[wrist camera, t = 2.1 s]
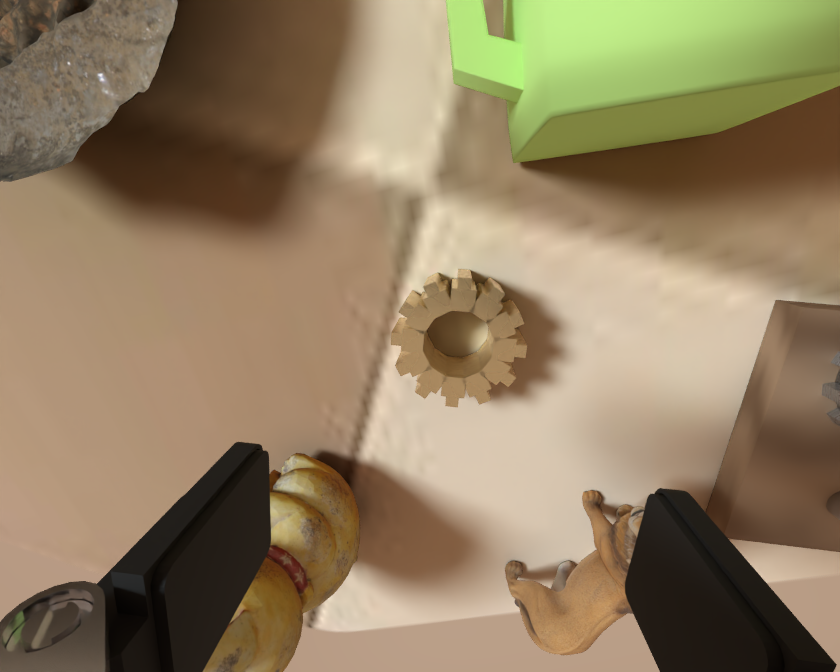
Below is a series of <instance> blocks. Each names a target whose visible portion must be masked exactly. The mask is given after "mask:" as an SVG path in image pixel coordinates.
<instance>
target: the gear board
mask: <svg viewBox="0 0 840 672" xmlns="http://www.w3.org/2000/svg"><path fill="white" fill-rule="evenodd" d="M838 352H840V306H839V305H827V304H816V303H805V302H793V301H782V300H776V301H775V304H774V307H773V311H772V314H771V317H770V320H769V323H768V326H767V329H766V332H765V335H764V338H763V341H762V344H761V347H760V350H759V353H758V356H757V359H756V362H755V365H754V368H753V371H752V374H751V377H750V380H749V383H748V386H747V389H746V392H745V395H744V398H743V401H742V405H741V408H740V411H739V414H738V417H737V420H736V423H735V426H734V429H733V432H732V435H731V438H730V441H729V444H728V447H727V450H726V453H725V456H724V459H723V462H722V465H721V468H720V471H719V474H718V477H717V480H716V483H715V486H714V489H713V492H712V495H711V499H710V502H709V505H708V508H707V511H706V514H707V515H708V516H709V517H710V518H711V520H712V521H713V522H714V523H715V524H716V525H717V527H718V528H719V529H720V530H721V531H722V532H723V533H724V535H725V536H726V537H727V538H729V539H737V540H746V541H754V542H762V543H770V544H778V545H787V546H795V547H803V548H811V549H820V550H828V551H836V552H840V426H838V425H836V424H835V423H833V422H832V421H831V419H830V418H829V417H828V415H827V414H826V413H828V412H830V411H832V410H834V409H835V408H838V407H837V405H836V402H835V401H833V400H831V399H829V398H827V397H825V396H823V395H822V384H823V383H831V382H835V380H836V377H837V374H838V372H839V370H840V366H838V365H835V364H833V363H831V361H832V360H833V359H834V357H835V356H836V354H837V353H838Z"/></svg>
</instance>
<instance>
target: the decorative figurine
mask: <svg viewBox="0 0 840 672" xmlns="http://www.w3.org/2000/svg"><path fill="white" fill-rule="evenodd" d="M269 480H270V515H271V544H270V548H269V551H268V554H267V556H266V558H265V560H264V562H263V563H262V565H261V567H260V569H259V571H258V572H257V574H256V576H255V578H254V580H253V581H252V583H251V585H250V587H249V589H248V591H247V592H246V594H245V596H244V598H243V600H242V601H241V603H240V605H239V607H238V609H237V611H236V612H235V614H234V616H233V618H232V620H231V621H230V623H229V625H228V627H227V629H226V630H225V632H224V634H223V636H222V638H221V640H220V641H219V643H218V645H217V647H216V649H215V650H214V652H213V654H212V656H211V658H210V660H209V661H208V663H207V665H206V667H205V669H204V670H203V672H283V671H284V669H285V668H286V667H287V666H288V664H289V662H290V660H291V659H292V657H293V655H294V653H295V650H296V648H297V645H298V642H299V639H300V636H301V630H302V624H303V613H305V612H307V611H309V610H311V609H313V608H315V607H317V606H319V605H321V604H322V603H323V602H324V601H325V600H327V599H328V598H329V597H330V596H331V595H333V594H334V593H335V592H336V591H337V589H338V588H339V587H340V586H341V585H342V583H343V582H344V580H345V579H346V577H347V576H348V574H349V572H350V569H351V567H352V565H353V563H354V562H355V561H357V552H358V548H359V540H360V519H359V512H358V507H357V504H356V501H355V497H354V495H353V492H352V490H351V488H350V487H349V485H348V483H347V482H346V481H345V480H344V479H343V477H342V476H341V475H340V474H339V473H338V472H336V471H335V470H334V469H333V468H331V467H330V466H329V465H327V464H325V463H323V462H321V461H319V460H316V459H314V458H312V457H310V456H307V455H305V454H301V453H296V454H294V455H292V456H291V457H290V458H289V459H287V460H286V461H285V462H284V466H282V470H281V473H279V472H278V471H276V470H273V471H272V472H271V473H270V474H269Z"/></svg>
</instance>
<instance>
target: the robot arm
mask: <svg viewBox="0 0 840 672" xmlns="http://www.w3.org/2000/svg"><path fill="white" fill-rule="evenodd" d="M270 544H271V515H270V480H269V454H268V452H267V451H263V449H262V446H261V445H260V444H253V443H244V442H236V443H235V444H234V445H233V446H232V447H231V448H230V449H229V450H228V451H227V452H226V453H225V454H224V455H223V456H222V457H221V458H220V459H219V460H218V461H217V462H216V463H215V464H214V465H213V466H212V467H211V468H210V469H209V470H208V472H207V473H206V474H205V475H204V476H203V477H202V478H201V479H200V480H199V481H198V482H197V483H196V484H195V485H194V486H193V487H192V488H191V489H190V490H189V491H188V492H187V493H186V494H185V495H184V496H183V497H181V498H180V499H179V500H178V501H177V502H176V503H175V504H174V505H173V506H172V507H171V508H170V509H169V510H168V511H167V512H166V513H165V515H164V516H163V517H162V518H161V519H160V520H159V521H158V522H157V523H156V524H155V525H154V526H153V527H152V528H151V529H150V530H149V531H148V532H147V533H146V534H145V535H144V536H143V537H142V538H141V539H140V540H139V541H138V542H137V543H136V544H135V545H134V546H133V547H132V548H131V549H130V550H129V551H128V553H127V554H126V555H125V556H124V557H123V558H122V559H121V560H120V561H119V562H118V563H117V564H116V565H115V566H114V567H113V568H112V569H111V570H110V571H109V572H108V573H107V574H106V575H105V576H104V577H103V578H102V579H101V580H100V581H99V582H98V583H97V584H95V583H90V582H86V581H79V582H69V583H65V584H61V585H57V586H54V587H52V588H49V589H47V590H44V591H42V592H40V593H37V594H36V595H34V596H32V597H31V598H29V599H27V600H26V601H24V602H22V603H21V604H19V605H18V606H17V607H16V608H14V609H13V610H12V611H11V612H10V613H8V614H7V615H6V616H5V617H4V618H3V619H2V620H1V622H0V672H203V670H204V669H205V667H206V665H207V663H208V661H209V660H210V658H211V656H212V654H213V652H214V650H215V649H216V647H217V645H218V643H219V641H220V640H221V638H222V636H223V634H224V632H225V630H226V629H227V627H228V625H229V623H230V621H231V620H232V618H233V616H234V614H235V612H236V611H237V609H238V607H239V605H240V603H241V601H242V600H243V598H244V596H245V594H246V592H247V591H248V589H249V587H250V585H251V583H252V581H253V580H254V578H255V576H256V574H257V572H258V571H259V569H260V567H261V565H262V563H263V562H264V560H265V558H266V556H267V554H268V551H269V548H270ZM625 594H626V598H627V601H628V603H629V605H630V607H631V609H632V612H633V614H634V616H635V618H636V620H637V622H638V625H639V627H640V629H641V631H642V633H643V635H644V638H645V640H646V642H647V644H648V646H649V649H650V651H651V653H652V655H653V657H654V660H655V662H656V664H657V666H658V668H659V670H660V672H833V671H834V669H835V667H836V663H835V662H834V661H833V660H832V659H831V658H830V656H829V655H828V654H827V653H826V652H825V651H824V649H823V648H822V647H821V646H820V645H819V644H818V643H817V641H816V640H815V639H814V638H813V637H812V636H811V634H810V633H809V632H808V631H807V630H806V629H805V627H804V626H803V625H802V624H801V623H800V622H799V621H798V620H797V618H796V617H795V616H794V615H793V614H792V612H791V611H790V610H789V609H788V608H787V607H786V605H785V604H784V603H783V602H782V601H781V600H780V598H779V597H778V596H777V595H776V594H775V593H774V591H773V590H772V589H771V588H770V587H769V586H768V585H767V583H766V582H765V581H764V580H763V579H762V578H761V576H760V575H759V574H758V573H757V572H756V571H755V569H754V568H753V567H752V566H751V565H750V564H749V562H748V561H747V560H746V559H745V558H744V557H743V556H742V554H741V553H740V552H739V551H738V550H737V549H736V547H735V546H734V545H733V544H732V543H731V542H730V540H729V539H728V538H727V537H726V536H725V535H724V533H723V532H722V531H721V530H720V529H719V528H718V527H717V525H716V524H715V523H714V522H713V521H712V520H711V518H710V517H709V516H708V515H707V514H706V513H705V511H704V510H703V509H702V508H701V507H700V506H699V505H698V503H697V502H696V501H695V500H694V499H693V498H692V496H691V495H690V494H689V493H687V492H685V491H680V490H671V489H662V488H660V489H658V490H657V491H656V492H655V494H650V495H649V496H648V499H647V502H646V506H645V510H644V513H643V517H642V521H641V524H640V528H639V532H638V535H637V539H636V543H635V547H634V550H633V554H632V558H631V561H630V565H629V569H628V573H627V576H626V580H625Z"/></svg>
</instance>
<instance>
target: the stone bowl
mask: <svg viewBox="0 0 840 672" xmlns="http://www.w3.org/2000/svg"><path fill="white" fill-rule="evenodd" d="M177 5H178V2H177V0H0V181H9V182H11V181H14V180H18V179H22V178H25V177H29V176H32V175H35V174H38V173H41V172H45V171H48V170H52V169H55V168H58V167H60V166H62V165H65V164H67V163H69V162H71V161H73V159H74V157H75V155H76V153H77V151H78V149H79V148H80V146H81V145H82V144H83V143H84V142H85V141H86V140H87V139H88V138H89V136H90V135H91V134H92V133H93V132H95V131H97V130H98V129H100V128H102V127H104V126H105V125H107V124H108V123H109V122H110V121H111V119H112V117H113V116H114V114H115V113H116V111H117V109H118V108H119V106H120V105H122V104H125V103H127V102H128V101H130V100H132V99H133V98H134V97H135V96H136V95H137V94H138V93H140V92H143V93H144V92H145V91H146V90H147V89H148V88H149V86H150V83H151V81H152V79H153V77H154V76H155V73H156V71H157V69H158V67H159V65H160V60H161V57H162V54H163V51H164V47H165V45H166V43H167V41H168V39H169V38H170V35H171V31H172V29H173V27H174V23H175V17H176V10H177Z"/></svg>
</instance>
